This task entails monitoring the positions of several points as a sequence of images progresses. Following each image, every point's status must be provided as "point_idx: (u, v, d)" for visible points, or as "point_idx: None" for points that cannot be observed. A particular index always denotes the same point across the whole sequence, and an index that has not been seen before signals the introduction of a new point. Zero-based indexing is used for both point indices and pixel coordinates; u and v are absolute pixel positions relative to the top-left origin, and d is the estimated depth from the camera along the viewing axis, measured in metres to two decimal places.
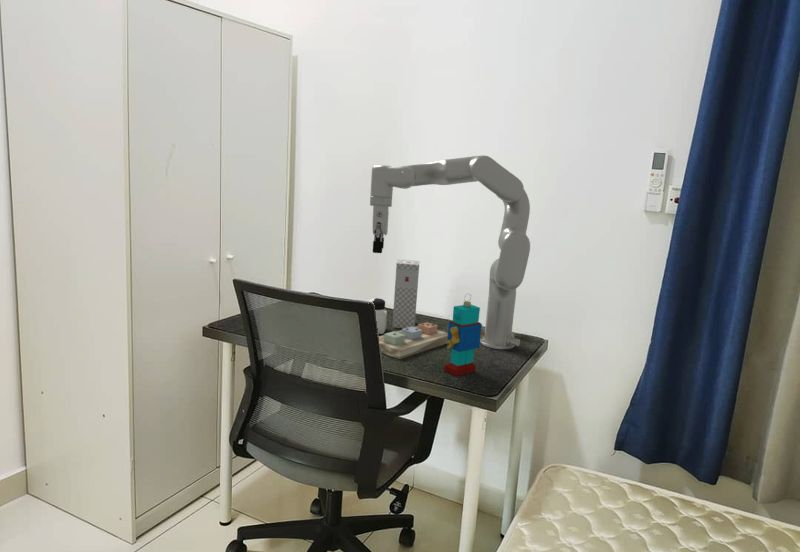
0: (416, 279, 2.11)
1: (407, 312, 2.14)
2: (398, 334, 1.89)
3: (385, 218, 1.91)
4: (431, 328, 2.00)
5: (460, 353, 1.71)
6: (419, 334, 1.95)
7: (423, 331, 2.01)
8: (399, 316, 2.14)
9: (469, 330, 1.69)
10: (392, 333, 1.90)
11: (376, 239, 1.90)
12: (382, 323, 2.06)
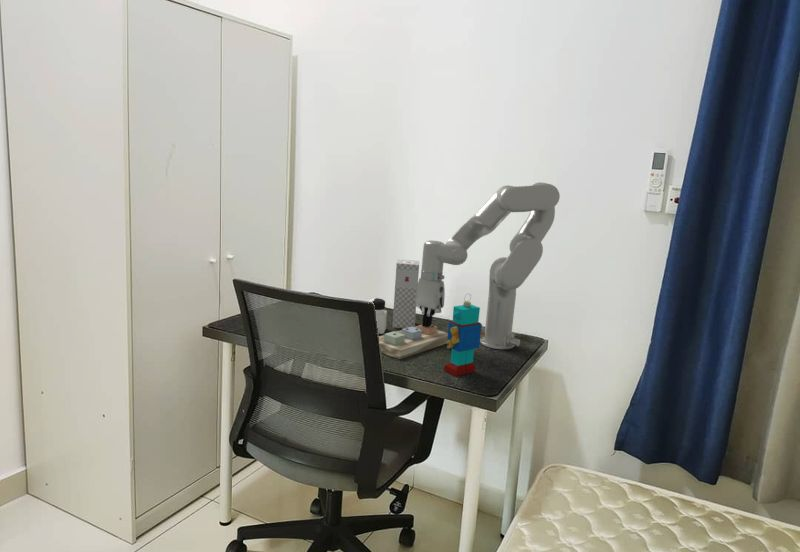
0: (416, 279, 2.11)
1: (407, 312, 2.14)
2: (398, 334, 1.89)
3: (444, 292, 1.98)
4: (431, 329, 2.00)
5: (460, 353, 1.71)
6: (419, 334, 1.95)
7: (423, 332, 2.01)
8: (399, 316, 2.14)
9: (469, 330, 1.69)
10: (392, 333, 1.90)
11: (432, 314, 2.00)
12: (382, 323, 2.06)
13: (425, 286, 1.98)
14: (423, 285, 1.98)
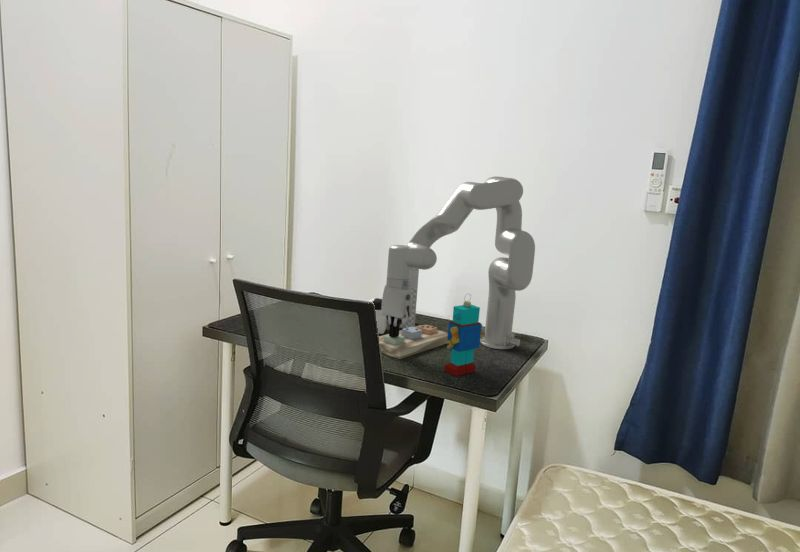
0: (416, 279, 2.11)
1: None
2: (398, 336, 1.89)
3: (411, 300, 1.85)
4: (431, 330, 2.00)
5: (460, 353, 1.71)
6: (419, 334, 1.95)
7: (423, 333, 2.01)
8: None
9: (469, 330, 1.69)
10: None
11: (399, 324, 1.86)
12: (382, 323, 2.06)
13: (391, 293, 1.84)
14: (389, 293, 1.85)
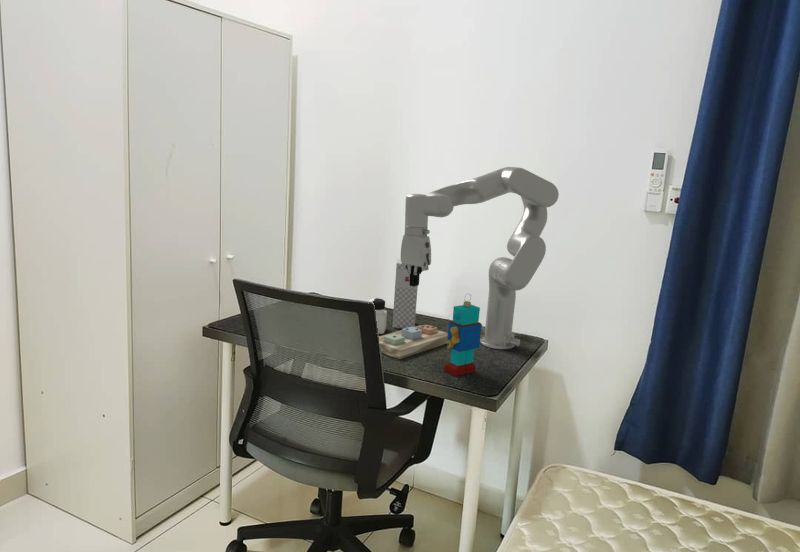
0: None
1: (407, 312, 2.14)
2: (398, 336, 1.89)
3: (430, 248, 1.86)
4: (431, 330, 2.00)
5: (460, 353, 1.71)
6: (419, 334, 1.95)
7: (423, 333, 2.01)
8: (399, 316, 2.14)
9: (469, 330, 1.69)
10: (392, 335, 1.90)
11: (419, 272, 1.88)
12: (382, 323, 2.06)
13: (410, 242, 1.86)
14: (408, 242, 1.86)
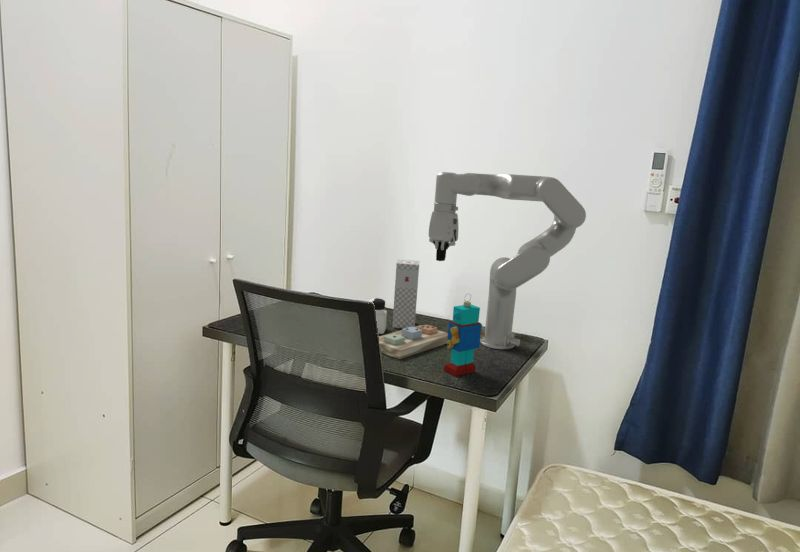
0: (416, 279, 2.11)
1: (407, 312, 2.14)
2: (398, 336, 1.89)
3: None
4: (431, 330, 2.00)
5: (460, 353, 1.71)
6: (419, 334, 1.95)
7: (423, 333, 2.01)
8: (399, 316, 2.14)
9: (469, 330, 1.69)
10: (392, 335, 1.90)
11: (446, 248, 1.96)
12: (382, 323, 2.06)
13: (439, 218, 1.94)
14: (436, 218, 1.95)
